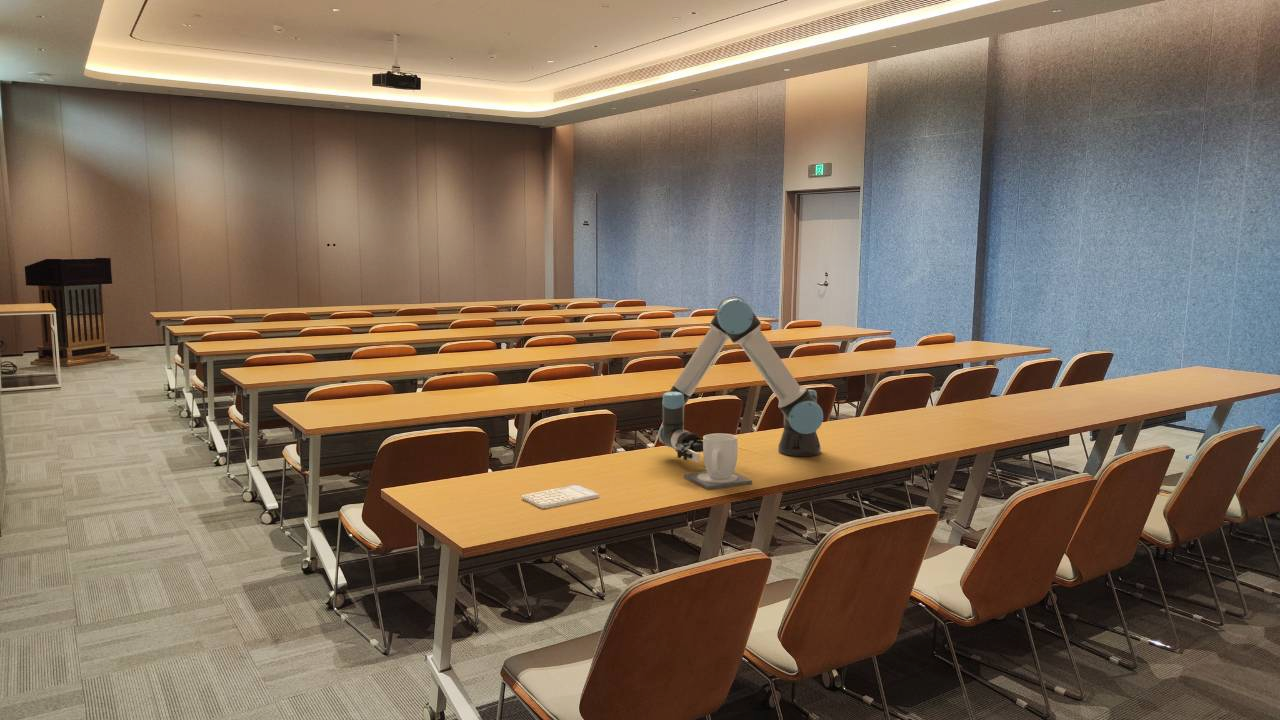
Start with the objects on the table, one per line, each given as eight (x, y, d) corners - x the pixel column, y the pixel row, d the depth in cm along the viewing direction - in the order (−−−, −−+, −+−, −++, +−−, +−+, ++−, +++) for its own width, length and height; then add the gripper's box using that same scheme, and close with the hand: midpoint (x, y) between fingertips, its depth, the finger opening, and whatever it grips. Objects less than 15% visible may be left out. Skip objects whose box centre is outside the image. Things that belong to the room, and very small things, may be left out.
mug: (732, 485, 266) (732, 444, 265) (697, 483, 269) (697, 442, 268) (740, 473, 280) (740, 434, 279) (706, 471, 284) (706, 432, 282)
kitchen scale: (726, 471, 287) (726, 468, 287) (751, 483, 273) (751, 479, 273) (683, 477, 281) (683, 473, 281) (707, 489, 266) (707, 485, 266)
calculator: (520, 500, 258) (520, 494, 258) (577, 489, 270) (577, 483, 269) (542, 511, 247) (542, 504, 247) (600, 498, 259) (600, 492, 259)
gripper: (717, 449, 300) (750, 462, 281) (653, 457, 290) (682, 471, 271) (717, 428, 299) (750, 440, 280) (653, 435, 289) (682, 448, 270)
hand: (717, 455), depth 276 cm, fingers open, 13 cm apart
